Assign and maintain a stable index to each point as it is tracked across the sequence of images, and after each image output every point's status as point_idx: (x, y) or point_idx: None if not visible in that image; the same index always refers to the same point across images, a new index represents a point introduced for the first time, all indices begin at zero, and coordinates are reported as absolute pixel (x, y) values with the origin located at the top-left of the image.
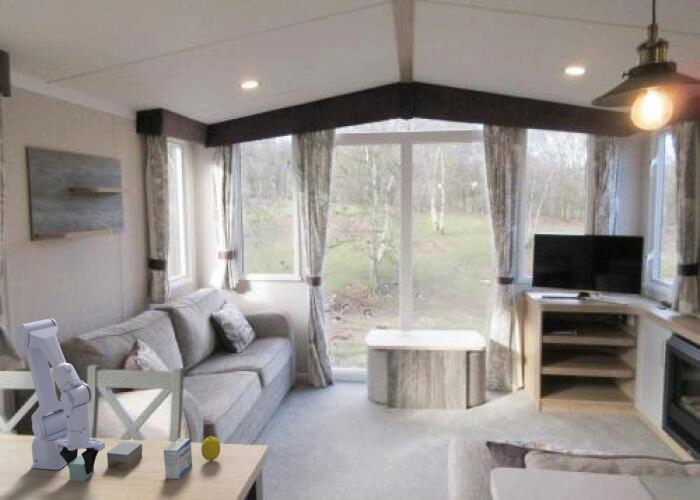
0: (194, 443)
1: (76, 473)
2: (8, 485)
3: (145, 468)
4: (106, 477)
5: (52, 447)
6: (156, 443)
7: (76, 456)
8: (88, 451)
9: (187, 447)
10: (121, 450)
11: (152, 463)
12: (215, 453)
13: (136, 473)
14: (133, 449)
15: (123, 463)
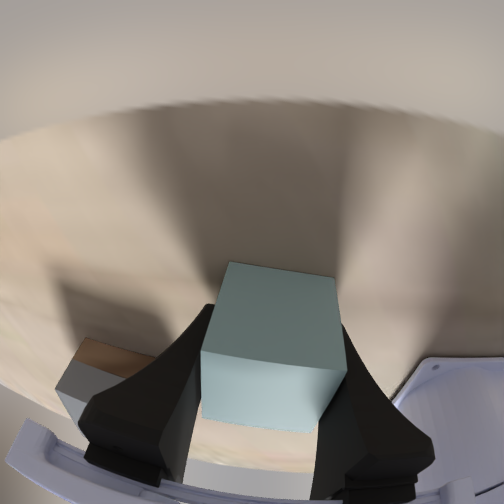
0: (44, 406)
1: (281, 303)
2: None
3: (40, 329)
4: (127, 288)
5: (474, 456)
6: None
7: (320, 428)
8: (124, 452)
9: None
10: None
11: (47, 352)
12: None
13: (39, 302)
14: (71, 415)
15: (97, 363)
